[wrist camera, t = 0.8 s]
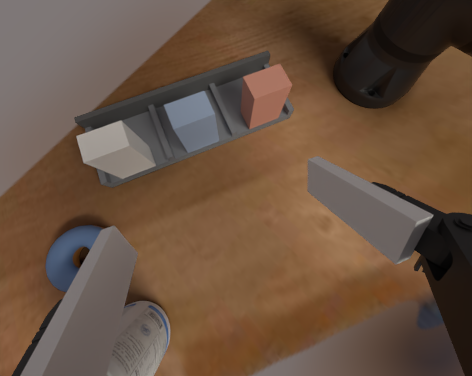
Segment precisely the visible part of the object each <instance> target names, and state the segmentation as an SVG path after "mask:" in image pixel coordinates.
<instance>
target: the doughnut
mask: <svg viewBox="0 0 472 376" xmlns="http://www.w3.org/2000/svg"><path fill="white" fill-rule="evenodd" d="M103 229H105V227H100V226H96V225H85V226H78V227H75V228H73V229H71V230H68V231H67V232H65V233H64V234H63V235H61V236H60V237H59V238H57V240H56V241H55V242H54V244H53V245H52V246H51V248H50V250H49V253H48V255H47V258H46V272H47V277H48V278H49V280H50V282H51V283H52V285H53V286H55V287H56V288H58V289H59V290H60V291H64V292H67V291H68V289H69V287H70V285H71V284H72V282H73V280H74V278H75V276H76V275H77V273H78V271H79V269H80V267H81V266H82V265H81V263H80V260H79V255H80V253H81V251H82V249H83V248H84V247H87V248H88V249H89V250H90V249H91V248H92V246H93V244H94V242H95V240H96V239H97V237H98V235H99V233H100V231H101V230H103Z"/></svg>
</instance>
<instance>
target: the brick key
mask: <svg viewBox="0 0 472 376" xmlns="http://www.w3.org/2000/svg"><path fill="white" fill-rule="evenodd" d="M291 87H292V84H291V82H290V80H289V78H288V77H287V75H286V73H285V71H284V70H283V68H282V66H281V64H277V65H275V66H272V67H269V68H266V69H263V70H261V71H258V72H255V73H252V74H249V75H247V76H244V77H243V84H242V99H241V114H242V116H243V118H244V120H245V122H246V124H247V126H248V128H249V129H252V128H254V127H257V126H259V125H262V124H264V123H267V122H270V121H272V120H275V119H277V118H278V117H279V115H280V113H281V110H282V108H283V106H284V103H285V101H286V99H287V96H288V94H289V92H290V89H291Z"/></svg>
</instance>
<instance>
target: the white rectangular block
mask: <svg viewBox="0 0 472 376" xmlns="http://www.w3.org/2000/svg"><path fill="white" fill-rule="evenodd" d="M76 137H77V141H78V144H79V148H80V152H81V155H82V159H83V162H84V163H85V164H88V165H90V166H93V167H95V168H97V169H100V170H102V171H105V172H107V173H110V174H112V175H114V176H117V177H119V178H122V179H124V178H126V177H129V176H131V175H134V174H136V173H139V172H141V171H144V170H147V169H149V168H152V167H154V166H156V164H155V161H154V159H153V156H152V153H151V150H150V148H149V146H148V145H147V144H146V143H145V142H144V141H143V140H142V139H141V138H140V137H139V136H137V135H136V134H135V133H134V132H133V131H132V130H131V129H130V128H129V127H128V126H127V125H126V124H125V123H123V122H122V121H121V120H120V121H118V122H115V123H112V124H109V125H106V126H104V127H101V128H98V129H95V130H92V131H90V132H87V133H84V134H81V135H78V136H76Z"/></svg>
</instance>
